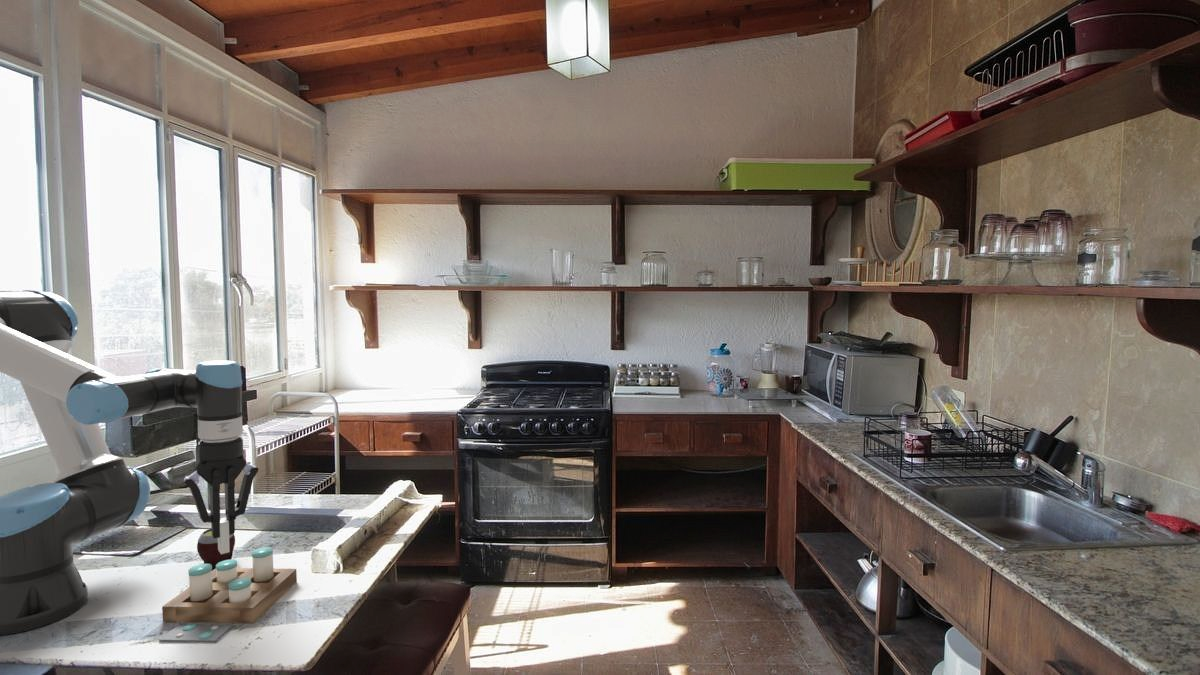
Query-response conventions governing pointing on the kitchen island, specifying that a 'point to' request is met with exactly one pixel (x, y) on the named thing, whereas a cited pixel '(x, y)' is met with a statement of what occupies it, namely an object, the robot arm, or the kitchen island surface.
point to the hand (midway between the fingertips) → (223, 550)
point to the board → (218, 603)
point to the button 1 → (200, 582)
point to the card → (197, 633)
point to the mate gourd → (213, 548)
